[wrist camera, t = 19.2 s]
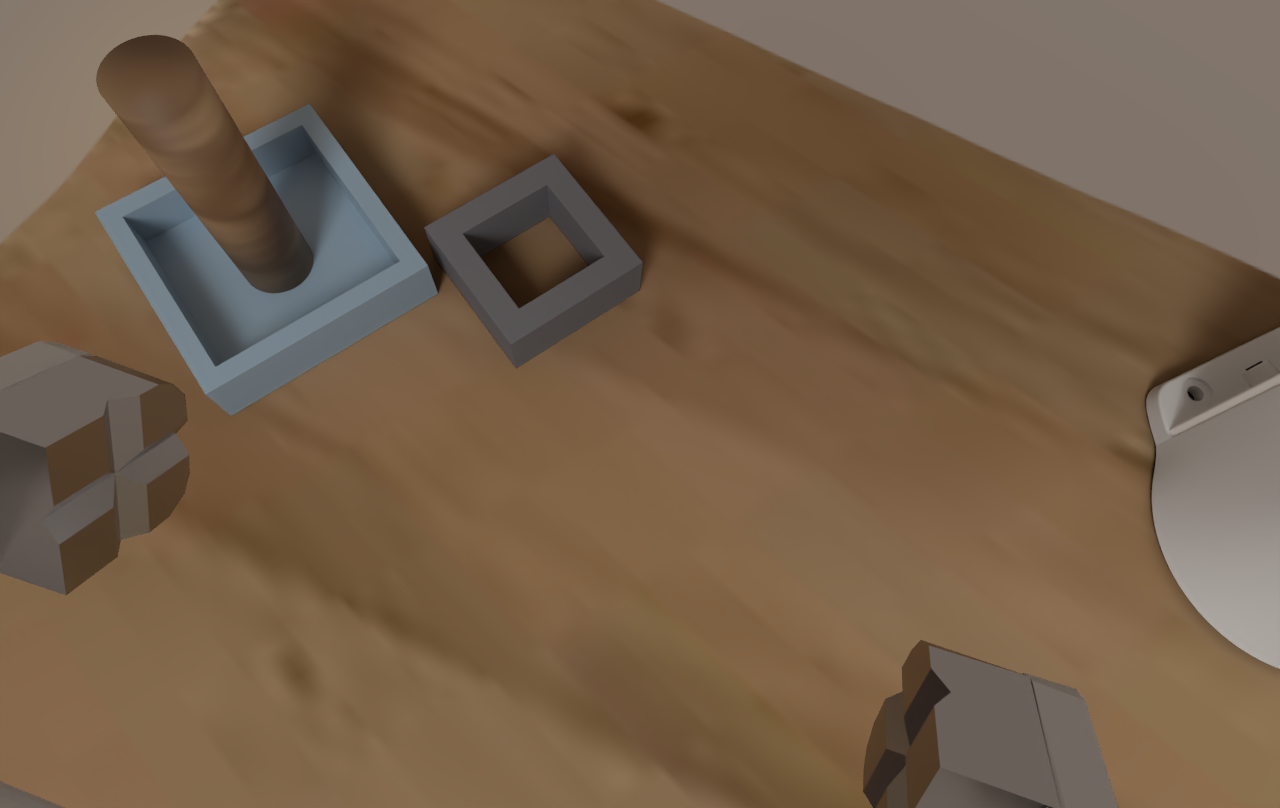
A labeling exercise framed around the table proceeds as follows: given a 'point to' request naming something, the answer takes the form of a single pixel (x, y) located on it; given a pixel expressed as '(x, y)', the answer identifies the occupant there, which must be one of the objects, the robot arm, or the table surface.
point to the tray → (272, 322)
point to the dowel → (204, 157)
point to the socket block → (506, 217)
